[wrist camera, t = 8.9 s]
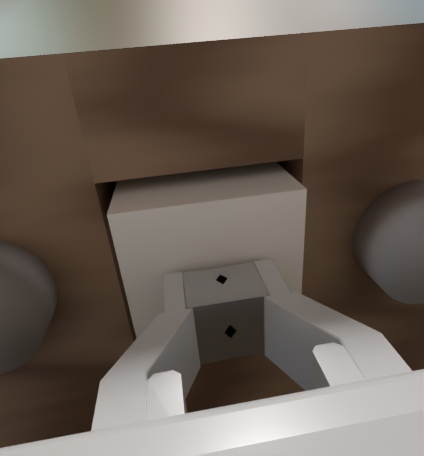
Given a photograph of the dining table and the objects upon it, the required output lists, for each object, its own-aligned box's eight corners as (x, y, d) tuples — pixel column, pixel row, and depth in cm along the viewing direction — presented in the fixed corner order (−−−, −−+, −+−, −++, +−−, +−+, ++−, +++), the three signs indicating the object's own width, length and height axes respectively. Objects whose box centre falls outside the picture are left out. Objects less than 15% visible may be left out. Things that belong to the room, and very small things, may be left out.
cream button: (261, 261, 15) (259, 147, 13) (299, 335, 11) (307, 189, 9) (145, 278, 14) (122, 163, 12) (142, 362, 10) (107, 214, 8)
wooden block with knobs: (334, 305, 26) (364, 33, 18) (449, 465, 16) (642, 3, 8) (63, 349, 24) (-43, 68, 16) (-4, 563, 14) (-395, 89, 6)
